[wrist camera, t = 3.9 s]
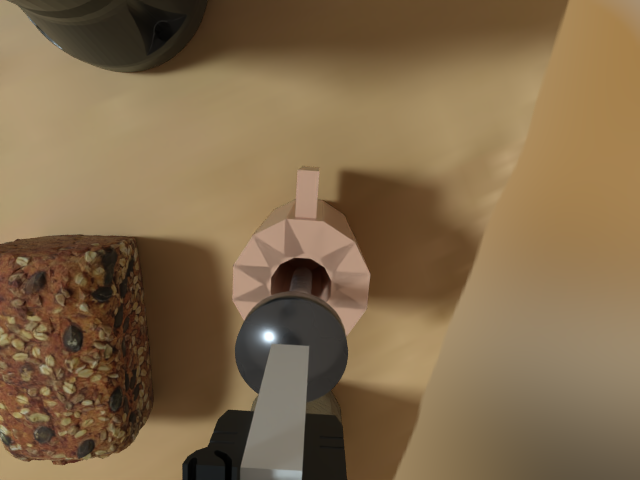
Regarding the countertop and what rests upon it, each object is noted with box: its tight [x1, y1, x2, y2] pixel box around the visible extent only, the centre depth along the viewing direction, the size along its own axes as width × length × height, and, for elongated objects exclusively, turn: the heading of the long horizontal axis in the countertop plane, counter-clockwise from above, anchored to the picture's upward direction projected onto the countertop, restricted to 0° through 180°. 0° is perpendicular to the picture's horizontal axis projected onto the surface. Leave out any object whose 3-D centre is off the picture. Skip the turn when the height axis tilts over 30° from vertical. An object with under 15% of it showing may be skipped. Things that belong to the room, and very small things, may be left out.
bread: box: [0, 235, 153, 465], centre depth 36 cm, size 19×11×10 cm, turn 179°
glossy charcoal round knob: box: [235, 267, 348, 403], centre depth 24 cm, size 5×5×12 cm
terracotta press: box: [232, 166, 370, 337], centre depth 33 cm, size 9×12×12 cm
